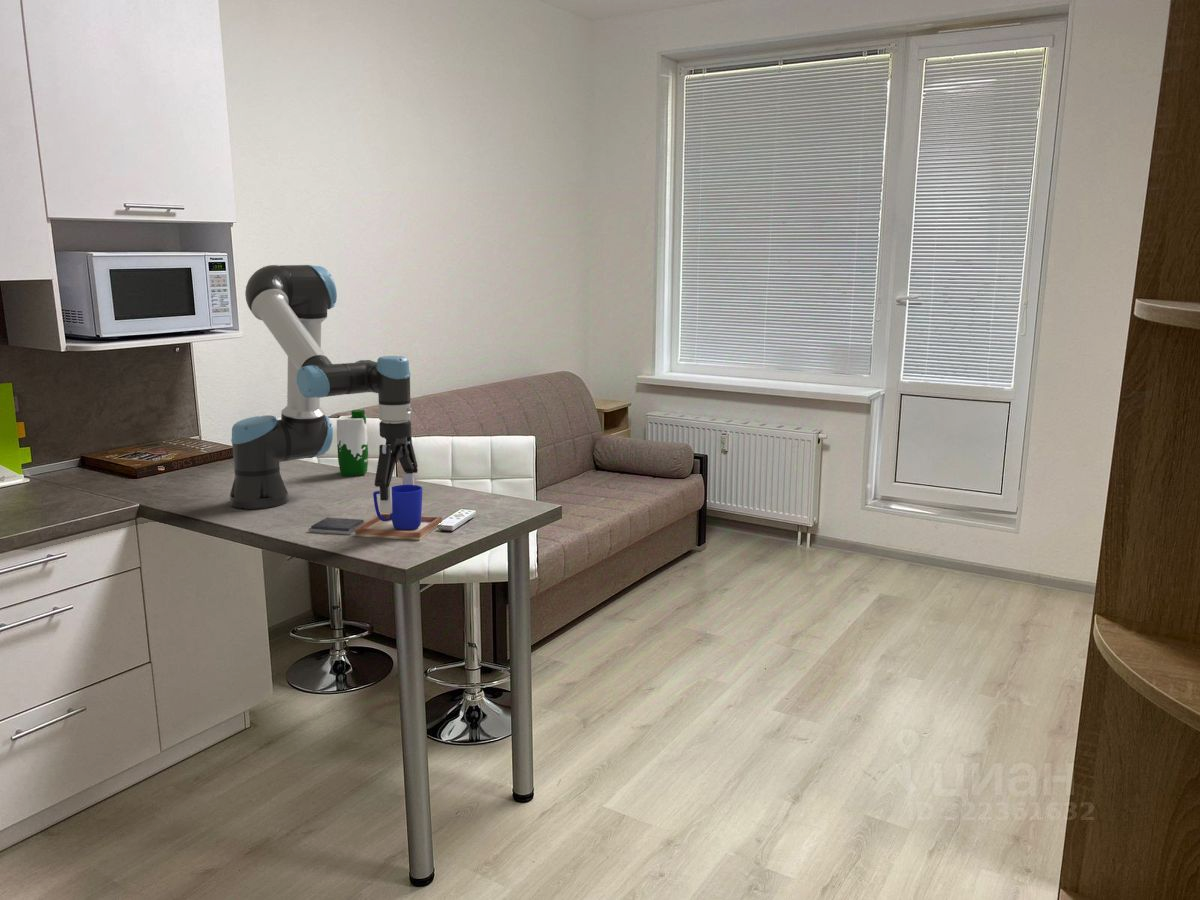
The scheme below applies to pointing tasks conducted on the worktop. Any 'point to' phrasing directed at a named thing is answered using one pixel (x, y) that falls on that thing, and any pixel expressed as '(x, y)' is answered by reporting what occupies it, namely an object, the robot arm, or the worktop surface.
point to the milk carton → (352, 444)
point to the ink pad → (336, 526)
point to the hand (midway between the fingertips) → (397, 505)
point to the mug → (404, 507)
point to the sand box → (387, 529)
